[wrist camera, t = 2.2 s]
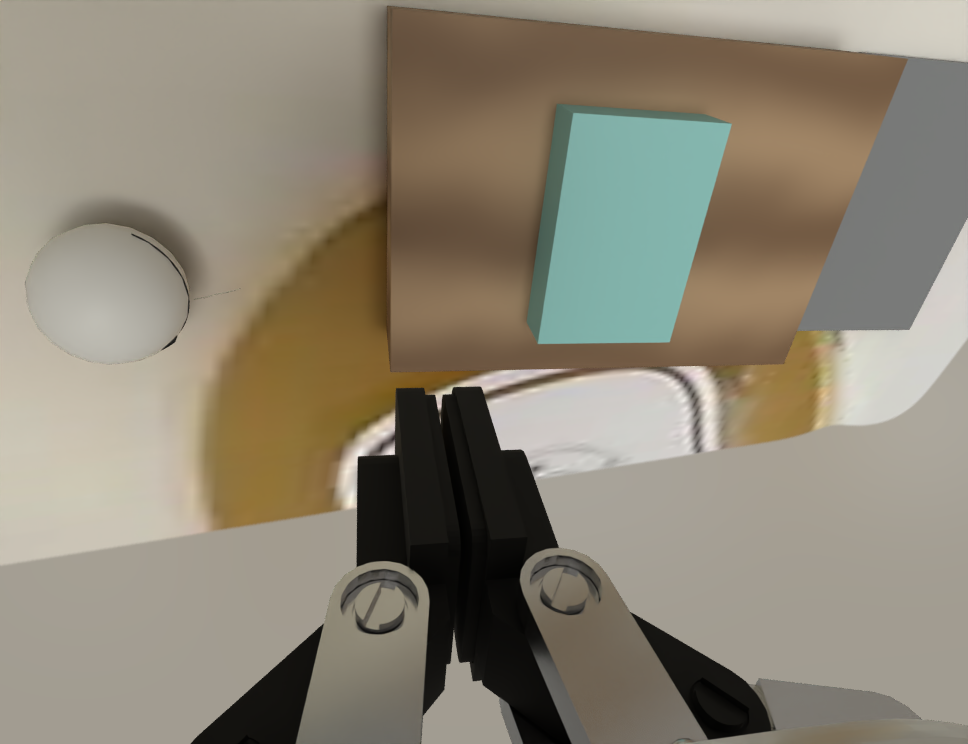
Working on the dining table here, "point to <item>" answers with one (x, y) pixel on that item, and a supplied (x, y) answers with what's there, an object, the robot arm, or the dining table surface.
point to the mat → (900, 207)
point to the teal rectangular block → (621, 222)
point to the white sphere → (107, 294)
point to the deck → (524, 165)
